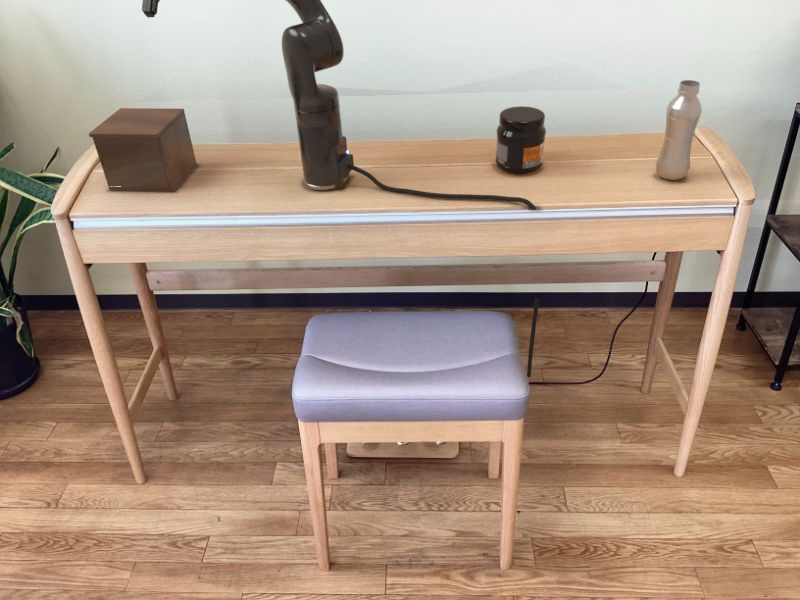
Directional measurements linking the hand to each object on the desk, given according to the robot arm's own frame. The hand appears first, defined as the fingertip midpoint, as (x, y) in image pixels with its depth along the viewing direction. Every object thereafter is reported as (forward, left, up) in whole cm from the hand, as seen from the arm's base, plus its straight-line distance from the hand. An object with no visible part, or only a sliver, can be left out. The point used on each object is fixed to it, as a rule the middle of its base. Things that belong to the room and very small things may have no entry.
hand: (149, 15), depth 148 cm
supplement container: (-82, -6, -31) cm, 88 cm away
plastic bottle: (-114, -7, -31) cm, 119 cm away
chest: (-3, +16, -31) cm, 35 cm away
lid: (-3, +16, -18) cm, 25 cm away
